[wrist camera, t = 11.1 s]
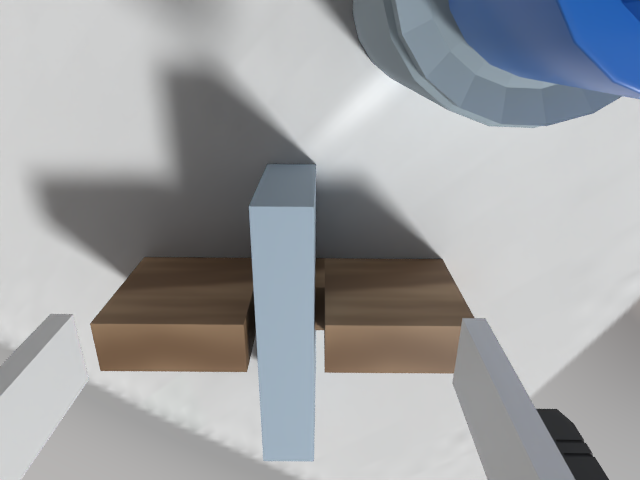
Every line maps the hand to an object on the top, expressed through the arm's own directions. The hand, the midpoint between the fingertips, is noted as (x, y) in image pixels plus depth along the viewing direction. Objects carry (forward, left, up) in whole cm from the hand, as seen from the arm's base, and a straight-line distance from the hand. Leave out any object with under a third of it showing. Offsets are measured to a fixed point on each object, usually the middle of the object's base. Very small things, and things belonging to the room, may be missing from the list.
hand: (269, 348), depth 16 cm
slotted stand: (+5, 0, -15) cm, 16 cm away
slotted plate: (+5, 0, -15) cm, 16 cm away
